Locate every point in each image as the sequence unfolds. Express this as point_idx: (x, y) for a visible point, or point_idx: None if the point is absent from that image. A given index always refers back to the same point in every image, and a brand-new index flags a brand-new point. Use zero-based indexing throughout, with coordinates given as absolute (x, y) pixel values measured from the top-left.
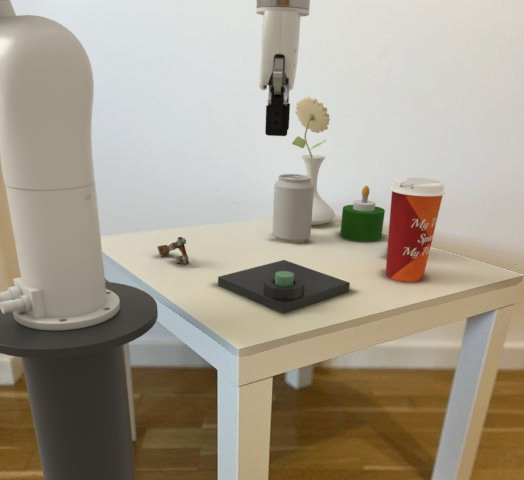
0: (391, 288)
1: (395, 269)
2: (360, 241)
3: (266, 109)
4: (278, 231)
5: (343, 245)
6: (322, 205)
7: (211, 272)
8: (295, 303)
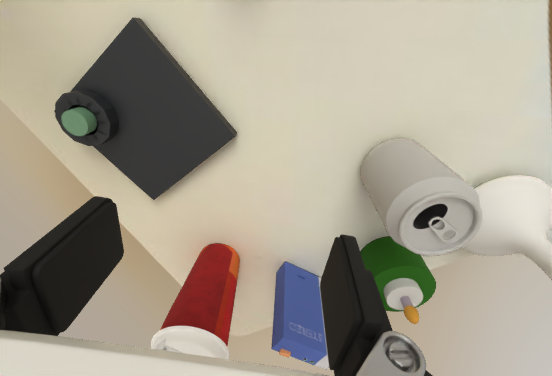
0: (178, 236)
1: (201, 254)
2: (360, 252)
3: (20, 255)
4: (381, 148)
5: (344, 229)
6: (483, 245)
7: (202, 6)
8: None
